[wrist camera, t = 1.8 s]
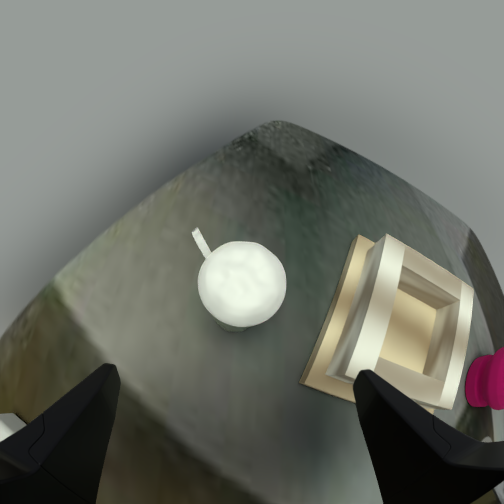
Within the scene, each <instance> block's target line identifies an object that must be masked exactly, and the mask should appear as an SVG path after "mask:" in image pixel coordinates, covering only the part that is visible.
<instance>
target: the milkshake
mask: <svg viewBox="0 0 504 504" xmlns="http://www.w3.org/2000/svg"><path fill="white" fill-rule="evenodd" d="M191 234H192V236H193V238H194V240H195V242H196V243H197V245H198V247H199V249H200V250H201V252H202V254H203V255H204V257H205V259H206V260H205V261H204V263H203V264H202V266H201V269H200V271H199V275H198V290H199V294H200V298H201V300H202V302H203V304H204V306H205V307H206V309H207V310H208V311H209V312H210V313H211V315H212V316H213V318H214V320H215V321H216V323H217V324H218V325H220V326H221V327H222V328H223V329H225V330H226V331H230V332H241V331H243V330H245V329H247V328H249V327H251V326H254V325H257V324H260V323H262V322H264V321H266V320H268V319H269V318H271V317H272V316H273V315H274V314H275V313H276V311H277V310H278V309H279V307H280V306H281V304H282V302H283V299H284V297H285V292H286V275H285V271H284V268H283V266H282V264H281V262H280V261H279V260H278V258H277V257H276V256H275V255H274V254H272V253H271V252H270V251H269V250H268V249H266V248H265V247H264V246H262V245H260V244H258V243H254V242H239V241H236V242H229V243H226V244H224V245H222V246H220V247H218V248H217V249H216V250H214V251H213V252H212V253H211V251H210V249H209V247H208V245H207V243H206V242H205V240H204V238H203V236H202V234H201V232H200V230H199V228H198V227H197V228H195V229H194V230H193V232H192V233H191Z"/></svg>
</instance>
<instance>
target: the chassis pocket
mask: <svg viewBox="0 0 504 504" xmlns="http://www.w3.org/2000/svg"><path fill="white" fill-rule="evenodd" d="M473 292H474V289H473V288H471V287H470V286H469V285H467V284H466V283H464V282H463V281H461V280H460V279H458V278H457V277H456V276H454V275H453V274H451V273H450V272H448V271H447V270H445V269H444V268H442V267H440V266H439V265H437V264H436V263H434V262H433V261H431V260H430V259H428V258H426V257H425V256H423V255H422V254H420V253H418V252H417V251H415V250H414V249H412V248H410V247H409V246H407V245H405V244H404V243H402V242H400V241H398V240H397V239H395V238H393V237H392V236H390V235H388V234H386V235H385V236H383V237H382V238H381V239H380V240H379V241H378V242H377V243H374V242H372V241H370V240H368V239H367V238H365V237H363V236H361V235H358V236H357V237H356V238H355V239H354V240H353V241H352V243H351V247H350V250H349V253H348V256H347V259H346V262H345V266H344V269H343V272H342V275H341V278H340V281H339V283H338V286H337V289H336V292H335V295H334V298H333V300H332V303H331V306H330V309H329V311H328V314H327V317H326V319H325V322H324V324H323V327H322V329H321V332H320V335H319V337H318V339H317V342H316V344H315V347H314V349H313V352H312V354H311V356H310V359H309V361H308V363H307V366H306V368H305V370H304V372H303V375H302V377H301V379H300V381H299V383H300V384H303V385H306V386H308V387H311V388H313V389H316V390H319V391H321V392H324V393H327V394H329V395H332V396H335V397H338V398H341V399H344V400H347V401H350V402H353V403H356V402H355V398H354V393H353V383H354V381H355V379H356V377H357V375H358V373H359V371H360V370H365V369H370V370H372V371H373V372H375V373H376V374H377V375H379V376H380V377H382V378H383V379H384V380H386V381H387V382H388V383H390V384H391V385H392V386H394V387H395V388H397V389H398V390H399V391H401V392H402V393H403V394H405V395H406V396H408V397H409V398H410V399H412V400H413V401H415V402H416V403H417V404H419V405H420V406H422V407H423V408H424V409H426V410H427V411H429V412H430V413H431V414H432V415H433V412H434V409H446V410H452V407H453V403H454V400H455V397H456V393H457V389H458V386H459V382H460V378H461V374H462V369H463V365H464V360H465V355H466V349H467V344H468V338H469V331H470V323H471V315H472V305H473Z"/></svg>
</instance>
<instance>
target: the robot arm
mask: <svg viewBox="0 0 504 504" xmlns="http://www.w3.org/2000/svg"><path fill="white" fill-rule="evenodd" d="M120 385H121V381H120V377H119V374H118V371H117V368H116V366H115V365H114V364H109V363H104V364H103V365H101V366H100V367H99V368H98V369H96V370H95V371H94V372H93V373H91V374H90V375H89V376H88V377H86V378H85V379H84V380H83V381H81V382H80V383H79V384H78V385H76V386H75V387H74V388H73V389H71V390H70V391H69V392H68V393H66V394H65V395H64V396H63V397H61V398H60V399H59V400H58V401H56V402H55V403H54V404H53V405H52V406H50V407H49V408H48V409H47V410H45V411H44V412H43V413H41V414H40V415H39V416H38V417H37V418H35V419H34V420H33V421H31V422H30V423H29V424H27V425H26V426H24V427H23V428H21V429H20V430H18V431H17V432H15V433H14V434H12V435H10V436H9V437H7V438H5V439H4V440H2V441H1V442H0V504H96V498H97V493H98V487H99V482H100V478H101V473H102V468H103V464H104V460H105V455H106V451H107V447H108V443H109V439H110V435H111V432H112V428H113V424H114V420H115V415H116V409H117V402H118V396H119V391H120ZM353 393H354V398H355V402H356V407H357V412H358V417H359V421H360V425H361V428H362V431H363V434H364V438H365V441H366V444H367V447H368V451H369V454H370V457H371V461H372V464H373V467H374V471H375V474H376V478H377V481H378V485H379V489H380V492H381V496H382V500H383V504H504V441H500V442H490V443H485V442H480V441H477V440H475V439H473V438H471V437H469V436H467V435H465V434H464V433H462V432H460V431H458V430H456V429H455V428H453V427H451V426H449V425H448V424H446V423H445V422H443V421H442V420H440V419H439V418H437V417H436V416H434V415H432V414H431V413H430V412H429V411H427V410H426V409H424V408H423V407H422V406H420V405H419V404H417V403H416V402H415V401H413V400H412V399H410V398H409V397H408V396H406V395H405V394H403V393H402V392H401V391H399V390H398V389H397V388H395V387H394V386H392V385H391V384H390V383H388V382H387V381H386V380H384V379H383V378H382V377H380V376H379V375H377V374H376V373H375V372H373V371H372V370H370V369H365V370H360V371H359V373H358V375H357V377H356V379H355V381H354V383H353Z"/></svg>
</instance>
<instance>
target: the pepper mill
mask: <svg viewBox="0 0 504 504" xmlns="http://www.w3.org/2000/svg"><path fill="white" fill-rule="evenodd" d="M465 392H466V398H467V401H468V403H469V404H470V405H471V406H473V407H484V406H487V405H489V406H490V407H491V408H493V409H495V410H501V409H504V347H502V348H500V349H499V350H498V351H497V352H496V353H495V354H494V355H486V356H481V357H478V358H477V359H475V360H474V362H473V363H472V364H471V366H470V369H469V371H468V374H467V378H466V385H465Z"/></svg>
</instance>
